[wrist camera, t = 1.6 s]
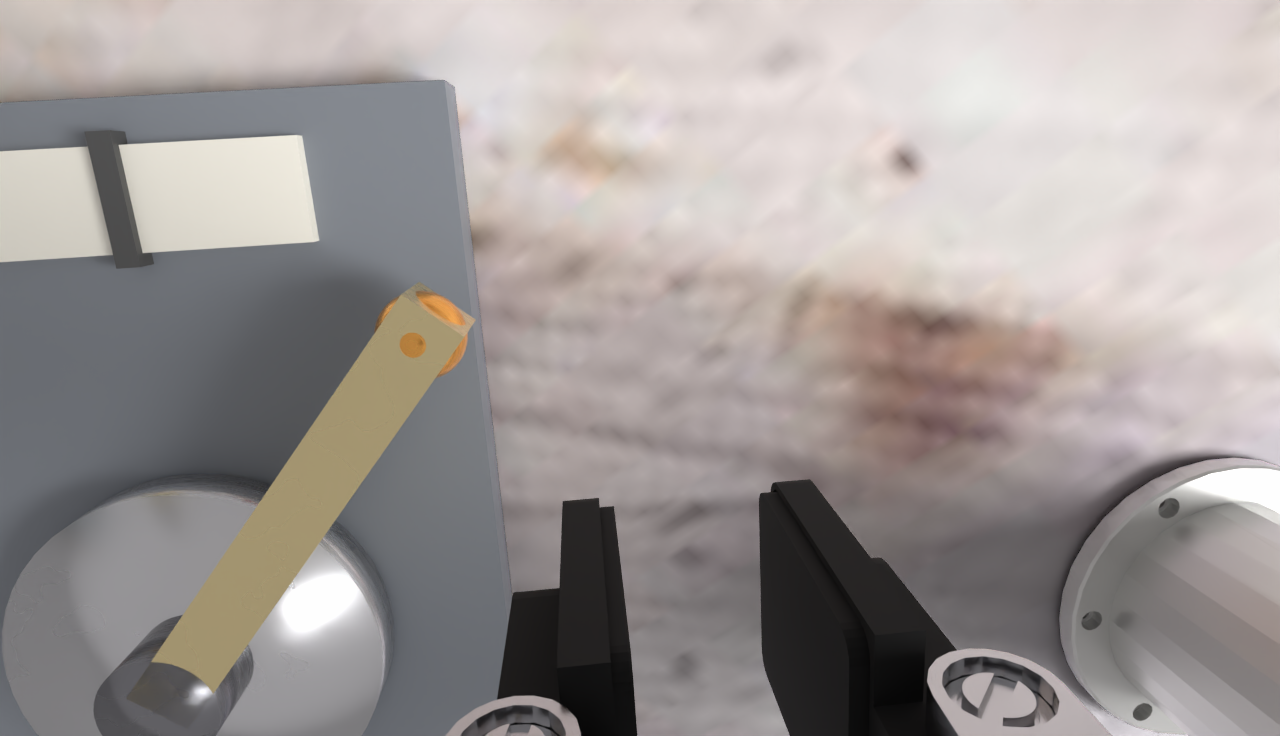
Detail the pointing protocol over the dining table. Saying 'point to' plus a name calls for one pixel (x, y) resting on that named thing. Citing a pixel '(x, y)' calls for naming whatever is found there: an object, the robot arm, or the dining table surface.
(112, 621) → the dial lever
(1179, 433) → the dining table surface
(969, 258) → the dining table surface
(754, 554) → the dining table surface
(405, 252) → the stand
